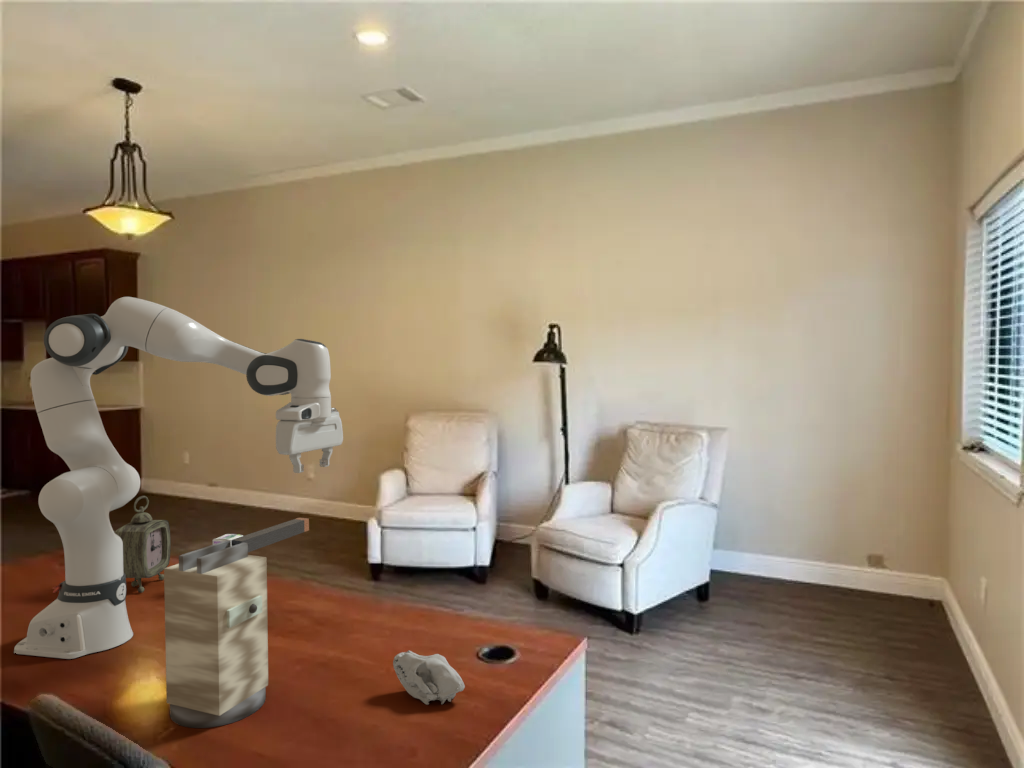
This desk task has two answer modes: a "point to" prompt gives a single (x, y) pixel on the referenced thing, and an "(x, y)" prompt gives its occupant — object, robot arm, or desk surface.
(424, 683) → the skull
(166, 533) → the tabletop clock
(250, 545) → the bar
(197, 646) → the level stand
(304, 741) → the desk surface
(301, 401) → the robot arm
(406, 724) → the desk surface
